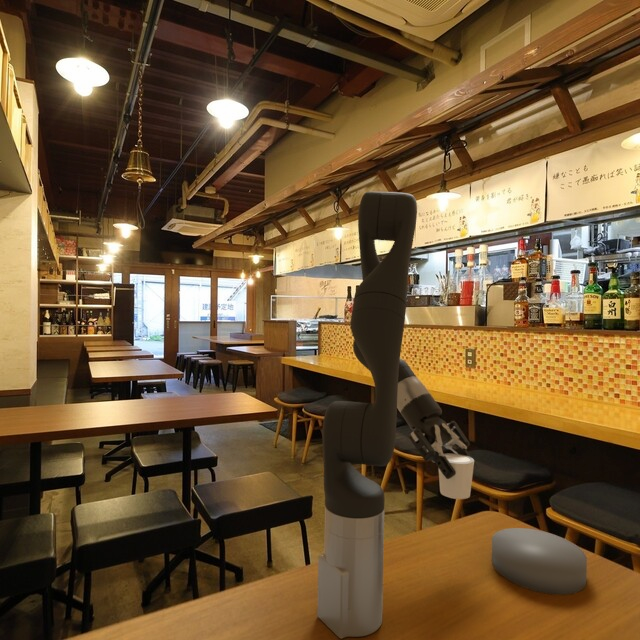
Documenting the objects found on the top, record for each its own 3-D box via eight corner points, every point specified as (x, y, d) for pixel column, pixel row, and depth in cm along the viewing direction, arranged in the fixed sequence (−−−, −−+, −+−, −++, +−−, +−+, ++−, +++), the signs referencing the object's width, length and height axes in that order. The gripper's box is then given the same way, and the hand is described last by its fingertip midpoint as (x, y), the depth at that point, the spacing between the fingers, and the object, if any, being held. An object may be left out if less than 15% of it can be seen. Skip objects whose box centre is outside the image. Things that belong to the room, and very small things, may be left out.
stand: (557, 605, 74) (557, 581, 74) (474, 561, 87) (474, 541, 87) (603, 576, 83) (603, 554, 83) (521, 540, 96) (521, 521, 96)
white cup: (445, 484, 93) (446, 450, 93) (478, 493, 89) (479, 457, 89) (430, 493, 88) (431, 457, 88) (465, 503, 83) (466, 465, 83)
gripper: (403, 395, 89) (454, 469, 80) (445, 389, 99) (495, 456, 90) (382, 417, 93) (428, 490, 84) (424, 410, 103) (470, 475, 94)
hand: (462, 472), depth 87 cm, fingers closed on white cup, 7 cm apart
